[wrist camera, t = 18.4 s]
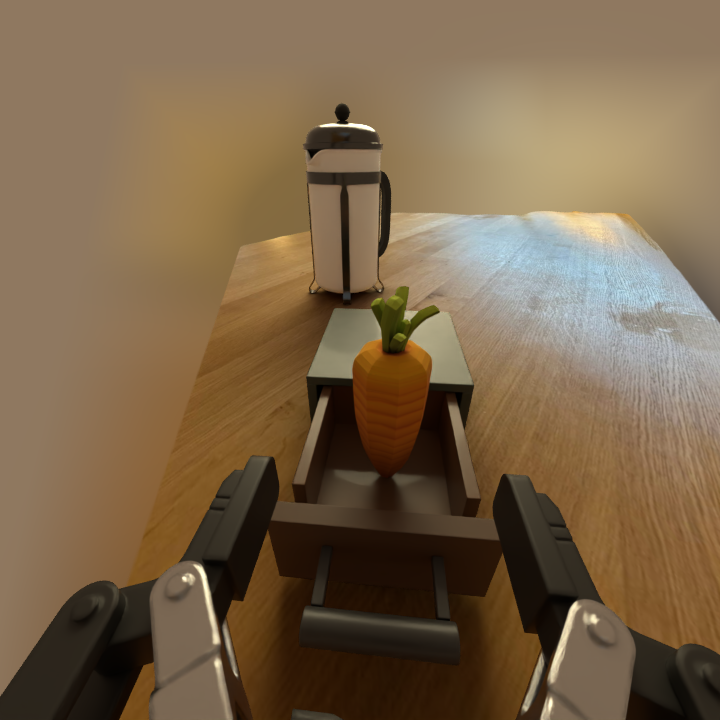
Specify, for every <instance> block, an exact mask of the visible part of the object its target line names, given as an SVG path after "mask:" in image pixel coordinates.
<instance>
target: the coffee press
mask: <svg viewBox="0 0 720 720" xmlns="http://www.w3.org/2000/svg"><path fill="white" fill-rule="evenodd" d="M349 113H350V112H349V108H348V107H347V105H345V104H339V105H338V106H337V107H336V110H335V114H336V117H337V119H338V120H340V121H338V122H337V124H324V125H319V126H316V127H314V128H313V129H311V130H310V131H309V133H308V134H307V137H306V143H305V144H303V149H304V150H305V153H306V164H307V167H308V168H307V169H308V171H306V175H307V187H308V203H309V215H310V229H311V242H312V255H313V269H314V280H315V276H316V282H317V284H318V285H319V287H318V288H317V289H316V290H311V289H310V287H311V285H312V284H313V282H314V280H313V281H312V283H311V284H310V287H309V291H310V292H311V293H315V292H317V290H318V289H320V288H322V289H324V290H327V291H330V292H335V293H343V304H351V303H350V293H356V292H361V291H365V290H367V289H369V288H371V287H373V288H375V289H376V290H377V291H378V292H382V291H383V290H384V286H383V284H382V282H381V281H380V280H379V257H380V256H381V255H382V254H383V253H384V252H385V250H386V248H387V245H388V241H389V234H390V215H391V188H390V183H389V179H388V177H387V175H386V174H385V173H384V172H382V171H380V153H381V152H382V149H383V144H381V143H380V138H379V135H378V133H377V132H376V131H375V130H374V129H373V128H371V127H369V126H366V125H361V124H348V122H347V121H345V120H347V119H348V117H349ZM308 183H309V185H308ZM380 191H381V192H382V210H381V237H380V242H379V233H380V196H381V192H380ZM314 263H315V264H314ZM377 276H378V280H379V282H380V283H381V285H382V286H383V287H382V289H377V288H376V287H375V286H374V284H375V283H376V280H377Z"/></svg>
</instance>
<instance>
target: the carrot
mask: <svg viewBox="0 0 720 720" xmlns="http://www.w3.org/2000/svg"><path fill="white" fill-rule="evenodd" d="M408 292H409V287H406V286H404V287H398V288H397V290H396V294H395V296H394V295H393V296H392V297H390V298H389V299H388V301H387V302H386V304H385V302H384V300H383V298H378V299H376V300H374V301H373V302H372V304H371V308H372V311H373V313H374V315H375V317H376V319H377V322H378V324H379V326H380V328H381V336H382V339H379V340H375V341H370V342H368V343H366V344H365V345H364V346H363V348H362V349H361V350H360V352H359V353H358V355H357V356H356V358H355V359H354V362H353V368H352V373H353V394H354V406H355V417H356V421H357V425H358V430H359V434H360V437H361V441H362V444H363V447H364V449H365V451H366V453H367V455H368V457H369V459H370V461H371V462H372V464H373V465H374V467H375V468H376V470H377V471H378V472H379V474H380V475H381V476H382V477H386V478H388V477H391V476H393V475H394V474H395V473H396V472H398V471H399V470H400V469H401V468H402V467H403V465H404V464H405V463H406V461H407V460H408V458H409V456H410V453H411V451H412V449H413V446H414V443H415V441H416V438H417V435H418V432H419V429H420V425H421V421H422V418H423V414H424V410H425V405H426V400H427V395H428V389H429V383H430V377H431V371H432V358H431V356H430V355H429V354H428V353H427V352H426V351H425V350H424V349H422V348H421V347H420V346H418V345H417V344H416V343H414V342H413V341H411V340H409V338H410V336H411V335H412V333H413V331H414V330H415V329H416V328H417V327H418V326H419V325H420V324H421V323H422V322H424V321H425V320H426V319H428V318H430V317H432V316H434V315H436V314H439V313H440V311H439V309H438V308H437V307H436V306H434V305H432V306H429V307H427V308H425V309H423V310H420V311H419V312H418V313H417V314H416V315H415V316H414V317H413V318H412V319H411V320H410V321H409V320H408V319H404V315H405V310H406V304H407V299H408Z"/></svg>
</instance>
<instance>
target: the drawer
mask: <svg viewBox="0 0 720 720" xmlns="http://www.w3.org/2000/svg"><path fill="white" fill-rule="evenodd" d="M292 486H293V492H294V498H295V503H293V502H281V501H277V503H276V506H275V509H274V512H273V515H272V518H271V521H270V524H269V527H268V531H269V535H270V539H271V543H272V547H273V551H274V554H275V558H276V562H277V566H278V570H279V574H280V576H286V577H295V578H305V579H315V583H314V589H313V594H312V599H311V606H305V608H304V611H303V614H302V619H301V624H300V631H299V646H300V647H306V648H314V649H322V650H331V651H339V652H347V653H356V654H364V655H372V656H381V657H389V658H397V659H406V660H414V661H422V662H431V663H439V664H447V665H456V666H458V665H459V663H460V638H459V632H458V627H457V624H456V622H454V621H450V619H451V618H450V609H449V601H448V593H452V594H461V595H471V596H481V597H485V595H486V592H487V590H488V587H489V585H490V582H491V580H492V577H493V575H494V573H495V570H496V568H497V565H498V563H499V560H500V558H501V555H502V553H503V551H502V547H501V544H500V540H499V536H498V533H497V529H496V525H495V522H494V519H485V518H476V514H477V511H478V508H479V504H480V501H481V497H480V492H479V488H478V484H477V480H476V476H475V472H474V468H473V464H472V460H471V456H470V452H469V448H468V444H467V440H466V436H465V432H464V428H463V423H462V419H461V415H460V411H459V407H458V403H457V399H456V395H455V392H447V391H428V395H427V400H426V405H425V410H424V414H423V418H422V421H421V425H420V429H419V432H418V435H417V438H416V441H415V443H414V446H413V449H412V451H411V453H410V456H409V458H408V460H407V461H406V463H405V464H404V465H403V467H402V468H401V469H400V470H399V471H398V472H396V473H395V474H394V475H393V476H391V477H388V478H386V477H382V476H381V475H380V474H379V472H378V471H377V470H376V468H375V467H374V465H373V464H372V462H371V461H370V459H369V457H368V455H367V453H366V451H365V449H364V447H363V444H362V441H361V437H360V434H359V430H358V425H357V421H356V417H355V406H354V394H353V386H335V385H324V386H323V389H322V392H321V395H320V398H319V401H318V404H317V408H316V411H315V414H314V417H313V420H312V423H311V426H310V429H309V433H308V436H307V439H306V442H305V445H304V448H303V451H302V454H301V458H300V461H299V464H298V467H297V470H296V473H295V476H294V479H293V483H292ZM328 581H334V582H344V583H354V584H364V585H373V586H383V587H393V588H403V589H413V590H422V591H432V592H434V600H435V612H436V620H435V619H426V618H417V617H408V616H399V615H389V614H380V613H371V612H362V611H353V610H344V609H335V608H325V607H324V603H325V597H326V591H327V585H328Z"/></svg>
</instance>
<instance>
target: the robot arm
mask: <svg viewBox="0 0 720 720" xmlns="http://www.w3.org/2000/svg"><path fill="white" fill-rule="evenodd" d="M278 495H279V480H278V475H277V470H276V465H275V460H274V458H273V457H269V456H255V455H252V456H251V457H250V458H249V460H248V462H247V464H246V466H245V468H244V470H234V471H233V472H232V473H231V474H230V475H229V476H228V477H227V478H226V479H225V480H224V481H223V483H222V484H221V486H220V488H219V490H218V492H217V494H216V497H215V498H214V500H213V501H212V503H211V505H210V509H209V510H208V511H207V513H206V515H205V517H204V518H203V520H202V522H201V524H200V526H199V528H198V530H197V532H196V534H195V535H194V537H193V539H192V541H191V543H190V545H189V547H188V549H187V551H186V552H185V554H184V556H183V557H182V559H181V560H180V561H179V563H178V564H175V565H174V566H172V567H170V568H169V569H168V570H166V571H165V572H164V573H163V574H162V575H161V576H160V577H159V578H157V579H155V580H152V581H148V582H144V583H140V584H136V585H132V586H128V587H125V588H121V589H118V588H117V586H116V585H115V584H114V583H113V582H110V581H98V582H94V583H92V584H89V585H87V586H85V587H84V588H82V589H80V590H79V591H78V592H76V593H75V594H74V595H73V596H72V597H70V598H69V600H68V601H67V602H66V603H65V604H64V605H63V606H62V608H61V609H60V611H59V612H58V613H57V615H56V616H55V618H54V619H53V621H52V622H51V624H50V625H49V627H48V628H47V630H46V631H45V632H44V634H43V635H42V637H41V638H40V640H39V641H38V643H37V644H36V646H35V647H34V648H33V650H32V651H31V653H30V654H29V656H28V657H27V659H26V660H25V662H24V663H23V664H22V666H21V667H20V669H19V670H18V672H17V673H16V675H15V676H14V678H13V679H12V680H11V682H10V684H9V685H8V686H7V688H6V689H5V691H4V692H3V694H2V695H1V696H0V720H119V719H120V716H121V714H122V712H123V710H124V707H125V705H126V703H127V701H128V699H129V696H130V694H131V692H132V690H133V687H134V685H135V683H136V681H137V678H138V676H139V674H140V672H141V670H142V667H143V665H146V664H149V663H153V662H154V669H155V688H154V691H153V692H152V693H151V695H150V701H149V720H253V717H252V713H251V709H250V705H249V702H248V699H247V696H246V693H245V690H244V687H243V683H242V680H241V675H240V671H239V667H238V663H237V659H236V655H235V650H234V646H233V642H232V638H231V634H230V629H229V625H228V621H227V617H226V615H227V612H228V609H229V607H230V604H231V601H232V600H237V601H243V600H244V597H245V594H246V591H247V588H248V585H249V582H250V579H251V576H252V573H253V571H254V568H255V565H256V562H257V559H258V556H259V553H260V550H261V547H262V544H263V541H264V538H265V535H266V532H267V530H268V527H269V524H270V521H271V518H272V515H273V512H274V509H275V506H276V503H277V500H278ZM493 517H494V522H495V525H496V529H497V533H498V536H499V540H500V544H501V547H502V551H503V555H504V558H505V562H506V566H507V569H508V573H509V577H510V581H511V584H512V588H513V592H514V595H515V599H516V603H517V606H518V610H519V614H520V617H521V621H522V625H523V628H524V632H525V633H534V634H538V636H539V640H540V643H541V646H542V648H541V650H540V652H539V655H538V658H537V661H536V664H535V666H534V669H533V672H532V675H531V678H530V681H529V683H528V686H527V689H526V692H525V695H524V697H523V700H522V703H521V706H520V709H519V712H518V714H517V717H516V719H515V720H720V655H719V654H717V653H716V652H714V651H712V650H710V649H709V648H706V647H704V646H701V645H697V644H685V645H683V646H681V647H680V648H679V649H675V648H672V647H670V646H668V645H665V644H663V643H661V642H658V641H656V640H654V639H651V638H649V637H647V636H644V635H642V634H640V633H638V632H636V631H634V630H632V629H630V628H629V627H627V626H626V625H625V624H624V622H623V621H622V620H621V619H620V618H619V617H618V616H617V615H616V614H615V613H614V612H613V611H612V610H610V609H609V608H608V607H606V606H605V604H604V603H603V601H602V600H601V598H600V596H599V594H598V592H597V590H596V588H595V586H594V584H593V582H592V579H591V577H590V575H589V573H588V571H587V569H586V566H585V564H584V562H583V560H582V558H581V556H580V554H579V551H578V549H577V547H576V545H575V543H574V542H573V541H572V539H573V538H572V536H571V534H570V532H569V530H568V528H566V523H565V521H564V519H563V517H562V515H561V513H560V510H559V508H558V507H557V506H556V505H555V504H554V503H553V502H552V501H551V499H550V498H549V497H548V496H547V495H546V494H543V493H536V491H535V489H534V487H533V484H532V482H531V480H530V478H529V477H528V476H526V475H513V474H503V475H502V477H501V480H500V483H499V486H498V489H497V492H496V495H495V498H494V501H493ZM291 720H343V719H341V718H339V717H338V716H336V715H334V714H329V713H321V712H313V711H306V710H298V709H293V712H292V717H291Z"/></svg>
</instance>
